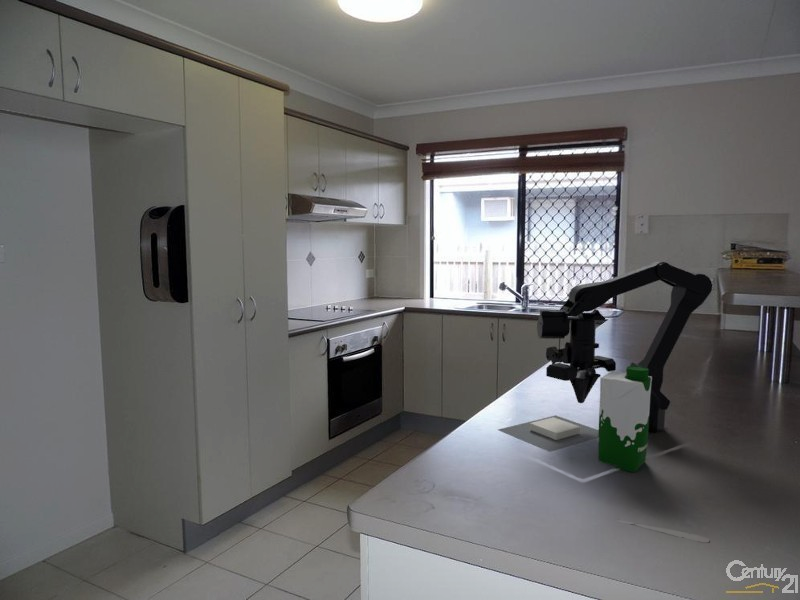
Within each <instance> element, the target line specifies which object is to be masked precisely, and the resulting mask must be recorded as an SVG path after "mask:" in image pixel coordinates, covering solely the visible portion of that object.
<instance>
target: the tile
mask: <svg viewBox="0 0 800 600" xmlns="http://www.w3.org/2000/svg"><path fill="white" fill-rule="evenodd" d="M530 430H532V431H534V432H536V433H539V434H541V435H544V436H547V437H549V438H552V439H554V440H559V439H562V438H566V437H570V436H573V435H577V434H580V426H577V425H574V424H571V423H568V422H566V421H563V420H560V419H557V418H554V417H553V418H549V419H544V420H540V421H536V422H532V423H530Z"/></svg>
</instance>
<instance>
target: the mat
mask: <svg viewBox="0 0 800 600" xmlns="http://www.w3.org/2000/svg"><path fill="white" fill-rule="evenodd" d="M553 417H554V418H557V419H560V420H563V421H566V422H568V423H571V424H574V425H577V426H580V434H577V435H573V436H570V437H566V438H562V439H559V440H554V439H552V438H549V437H547V436H544V435H541V434H539V433H536V432H534V431H532V430H530V423H532V422H536V421H540V420H544V419H549V418H553ZM497 430H498V431H499V432H502V433H504V434H506V435H509V436H512V437H514V438H516V439H519V440H521V441H523V442H526V443H527V444H531V445H532V446H536V447H537V448H539V449H542V450H544V451H546V452H548V453H549V452H550V453H551V452H553V451H556V450H560V449H563V448H567V447H571V446H573V445H578V444H580V443H584V442H588V441H591V440H595V439H598V432H599V429H596V428H594V427H590V426H588V425H585V424H581V423H579V422H575V421H574V420H570V419H568V418H564V417H562V416H558V415H552V416H547V417H544V418H540V419H536V420H532V421H527V422H523V423H519V424H515V425H510V426H507V427H503V428H499V429H497Z"/></svg>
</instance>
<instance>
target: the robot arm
mask: <svg viewBox="0 0 800 600" xmlns="http://www.w3.org/2000/svg"><path fill="white" fill-rule="evenodd" d="M657 281H660V282H662V283H664V284H666V285H668V286H670V287H671V288H672V289H671V293H670V305H669V308H668V310H667V312H666V314H665V316H664V318H663V320H662V322H661V324H660V326H659V328H658V329H657V332H656V334H655V336H654V338H653V339H652V342H651V344H650V345H649V348H648V350H647V352H646V353H645V356H644V358H643V359H642V360H641V361H639V362H638V363H636V362H634V361H632V362H631V363H630V365H629V366H640V367H645V368H648V369H649V372H648V376H651V377H652V382H651V394H650V410H649V428H648V434H657V433H660V432H662V431H666V430H668V429H669V428H668V427H666V426H665V425H666V424H665V422H666V421H665V420H666V410H668V408H669V406H670V403H671V401H670V399H668V397H666V396H665V394H664V393H663V392H661V389H662V388H663V387H662V386H663V382H664V371H665V370H664V369H665V366H666V364H667V362H668V360H669V358H670V356H671V354H672V352H673V351H674V348H675V346H676V344H677V342H678V340H679V338H680V337H681V335H682V332H683V331H684V329H685V327H686V324H687V323H688V320H689V318H690V316H691V315H692V314H693V312H695V311H696V310H697V309H699V308H700V307H701V305H703V304H704V303H705V301H706V300H707V299H708V297H709V296H710V294H711V293H712V290H713V286H714V284H713V282H712V281H711V279H710V277H709V276H708V275H706V274H704V273H695V272H689V271H686V270H684V269H682V268H679V267H675V266H673V265H671V264H670V263H668V262H667V261H654V262H652V263H650V264H647V265H644V266H643V267H639V268H637V269H634V270H631V271H628V272H626V273H623V274H620V275H618V276H615V277H613V278H610V279H607V280H603V281H597V282H590V283H583V284H578V285H576V286H573V287H572V288H571V289H570V291H569V293H568V299H567V300H566V301H565V302H564V303H563V305H562V306H561V307H560V309H559V310H548V309H541V310H540V311H539V316H538V319H537V322H536V331H537V337H538V338H539V339H541V340H543V339H546V340H547V339H550V340H552V339H553V340H554V339H556V340H557V339H558V340H564V339H565V337H567V336H569V341H566V342H565V343H564V347H563V348H559V349H558V348H557V346H554V345H553V346H549V347H546V350H545V358H546V360H547V361H548V362H550V361H551V364H549V365H547V367H546V368H545V369H546V373H545V374H546V375H545V376H546V377H549V378H552V379H556V380H559V381H564V382H565V381H566V382H567V381H570V384H571V386H572V388H573V389H572V390H573V391H574V395H575V397H576V401H577V404H578V403H579V404H583V403H585V401H586V399H587V398H588V395H589V394H590V392H591V390H592V389H593V387H594V385H595V384H596V382H597V381H598V379H600V378H601V377H602V376H601V374H599V373H597V371H596V369H600V368H603V369H605V371H607V372H608V373H610V372H612V371H616V369H617V366H616V365H617V362H616V361H615V359H614V358H610V357H606V356H602V355H596V349H600V343H598V342H596V331H597V328H596V326H597V323H596V322H597V321H605V320H606V317H605V316H604V315H602V314H601V312H600V310H598V308H599V307H602V306H603V305H605V304H606V303H607V302H609V301H610V300H611V299H614V297H617V296H620V295H622V294H624V293H627V292H630V291H633V290H635V289H638V288H641V287H645V286H646V285H650V284H653V283H655V282H657Z"/></svg>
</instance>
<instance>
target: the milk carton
mask: <svg viewBox="0 0 800 600" xmlns="http://www.w3.org/2000/svg"><path fill="white" fill-rule="evenodd" d="M648 372H649V369H648V368H645V367H640V366H630V365H629V366H627V367H626V371H625V372H622V371H616V370H615V371H610V372H608V373H606V374H605V375H602V376H600V377H599V379H600V381H599V382H600V383H599V385H600V386H599V387H600V388H599V392H600V393H599V412H598V416H599V417H598V430H599V432H598V438H597V440H598V441H597V444H598V446H597V447H598V448H597V449H598V454H597V455H598V462H599V463H600V462H601V463H604V464H609V465H612V466H615V469H618V468H619V469H618V470H622V471H626V470H627V471H626V472H630V471H631V472H630V473H634V472H635V473H636V472H637V471H638V470H639V469H640V468H641V467H642V466H643V465H644V464H645V462H646V458H647V451H648V442H649V432H648V428H649V410H650V394H651V382H652V377H651V376H648Z"/></svg>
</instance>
